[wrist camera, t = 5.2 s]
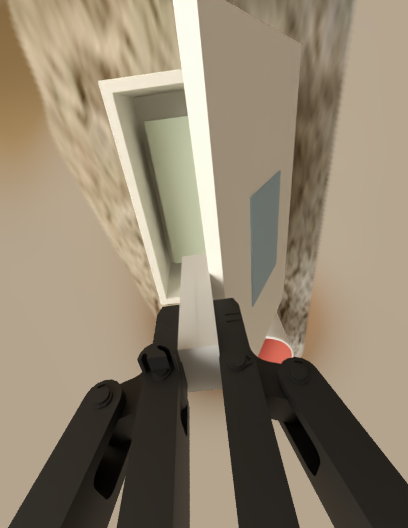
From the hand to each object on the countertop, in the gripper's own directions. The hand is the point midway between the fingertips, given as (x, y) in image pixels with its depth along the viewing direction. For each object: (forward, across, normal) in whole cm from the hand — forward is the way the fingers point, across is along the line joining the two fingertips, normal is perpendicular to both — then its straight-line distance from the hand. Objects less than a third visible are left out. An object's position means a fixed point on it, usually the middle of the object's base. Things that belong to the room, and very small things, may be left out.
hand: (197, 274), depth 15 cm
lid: (+4, +5, 0) cm, 6 cm away
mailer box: (+20, +1, 0) cm, 20 cm away
